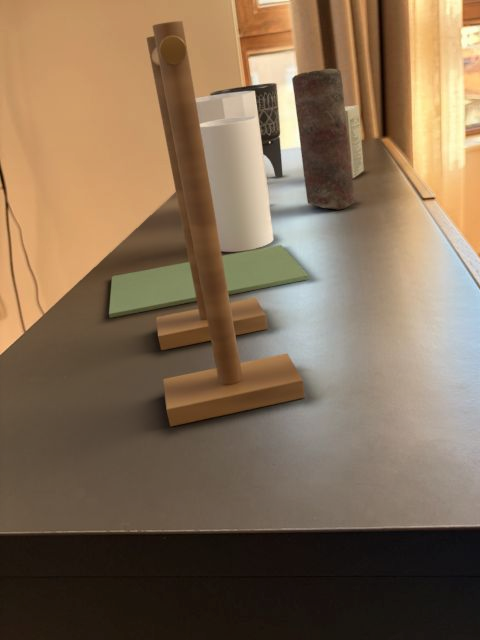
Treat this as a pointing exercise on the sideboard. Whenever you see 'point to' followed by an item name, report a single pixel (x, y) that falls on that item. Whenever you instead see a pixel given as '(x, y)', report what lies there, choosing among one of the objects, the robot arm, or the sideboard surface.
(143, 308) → the mat
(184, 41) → the rail stand
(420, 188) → the sideboard surface
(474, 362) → the sideboard surface
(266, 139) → the planter
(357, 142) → the cosmetic box
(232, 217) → the cup
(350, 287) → the sideboard surface
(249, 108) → the container
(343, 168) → the candle
